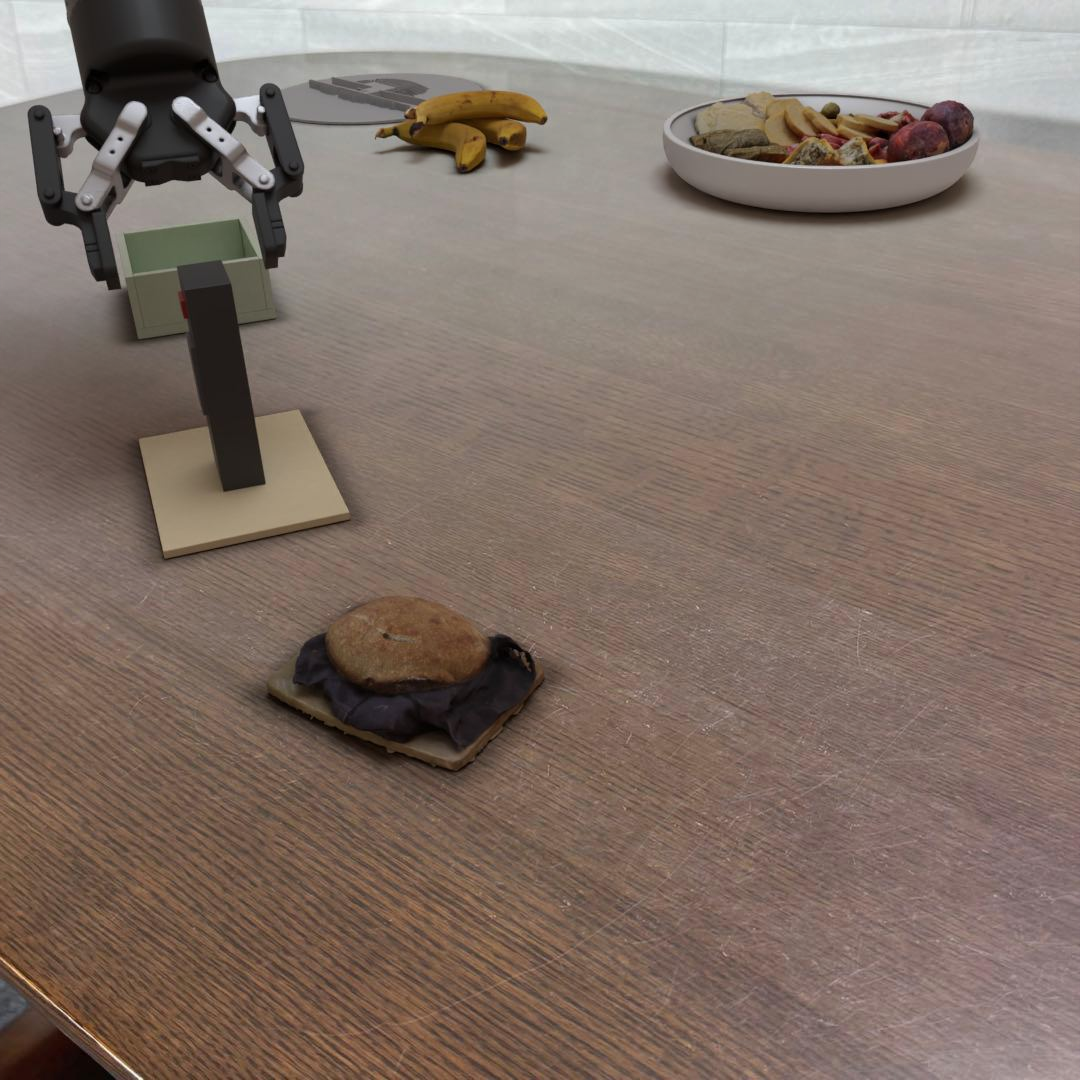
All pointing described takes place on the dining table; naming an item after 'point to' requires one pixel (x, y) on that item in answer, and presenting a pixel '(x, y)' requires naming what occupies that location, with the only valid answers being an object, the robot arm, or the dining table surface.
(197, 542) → the mat
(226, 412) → the bar
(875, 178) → the bowl
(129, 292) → the green open box
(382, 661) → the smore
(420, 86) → the plate
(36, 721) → the dining table surface
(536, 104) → the banana
